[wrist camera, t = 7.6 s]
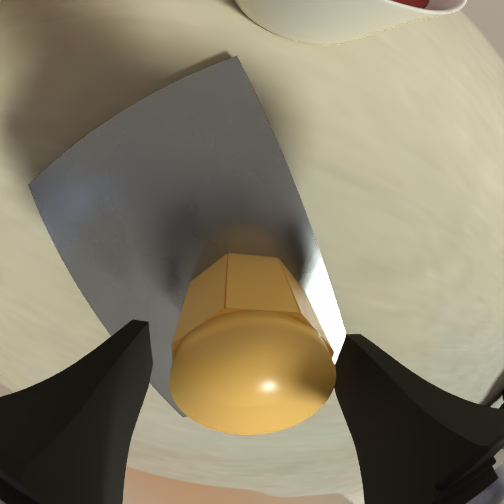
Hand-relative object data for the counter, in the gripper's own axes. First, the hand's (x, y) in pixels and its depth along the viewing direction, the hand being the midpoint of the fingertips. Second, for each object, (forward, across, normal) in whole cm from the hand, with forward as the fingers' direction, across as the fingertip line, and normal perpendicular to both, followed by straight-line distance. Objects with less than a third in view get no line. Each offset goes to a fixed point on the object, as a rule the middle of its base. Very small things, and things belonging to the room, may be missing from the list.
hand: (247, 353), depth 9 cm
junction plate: (+4, +2, -1) cm, 4 cm away
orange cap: (+3, 0, 0) cm, 3 cm away
